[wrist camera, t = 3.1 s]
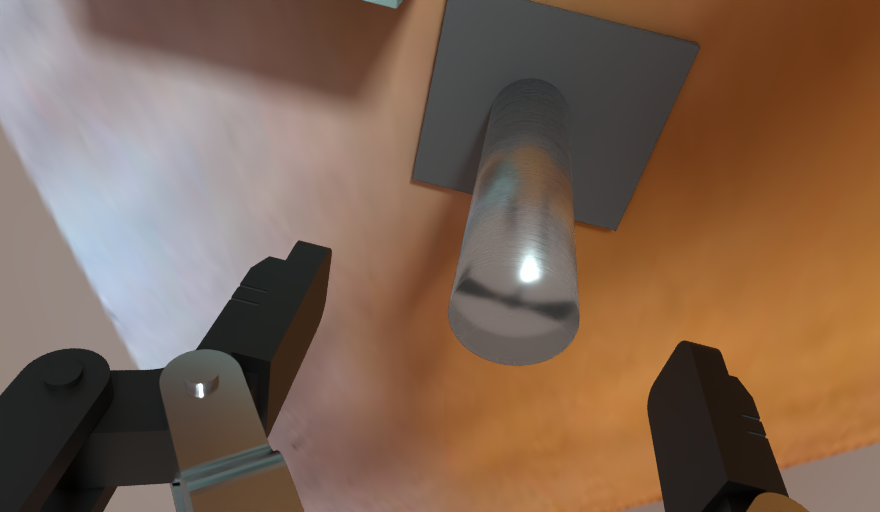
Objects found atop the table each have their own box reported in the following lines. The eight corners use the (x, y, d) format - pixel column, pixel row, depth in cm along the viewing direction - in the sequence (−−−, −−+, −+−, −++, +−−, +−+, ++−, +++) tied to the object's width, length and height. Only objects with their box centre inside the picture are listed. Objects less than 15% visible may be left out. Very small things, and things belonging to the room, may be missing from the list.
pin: (579, 89, 23) (598, 286, 13) (554, 159, 25) (555, 378, 15) (501, 69, 23) (463, 251, 13) (482, 141, 25) (436, 347, 15)
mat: (698, 43, 22) (700, 46, 21) (614, 225, 26) (615, 230, 26) (452, -19, 22) (451, -17, 21) (413, 174, 26) (412, 178, 26)
